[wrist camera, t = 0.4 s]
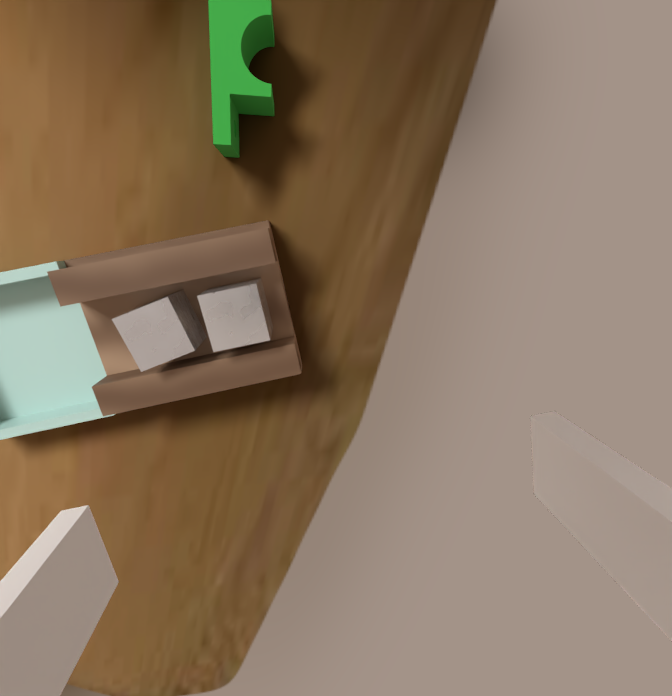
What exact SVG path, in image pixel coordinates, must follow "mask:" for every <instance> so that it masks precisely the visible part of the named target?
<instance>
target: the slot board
mask: <svg viewBox="0 0 672 696" xmlns="http://www.w3.org/2000/svg"><path fill="white" fill-rule="evenodd" d="M64 262H65V265H66V267H67V268H64V269H58V270H53V271H48V272H47V273H48V276H49V278H50V281H51V284H52V286H53V289H54V291H55V294H56V296H57V299H58V302H59V304H60V307H61V306H66V305H71V304H76V303H80V305H81V308H82V310H83V313H84V316H85V318H86V321H87V324H88V326H89V329H90V332H91V334H92V337H93V340H94V342H95V345H96V348H97V350H98V353H99V356H100V358H101V361H102V364H103V366H104V369H105V372H106V374H107V376H106V377H104V378H103V379H102V380H100V381H99V382H98V383H96V384H95V385H93V386H92V389H93V392H94V394H95V397H96V400H97V402H98V405H99V407H100V410H101V412H102V415H103V416H108V415H112V414H117V413H122V412H126V411H131V410H135V409H140V408H145V407H149V406H154V405H159V404H163V403H168V402H173V401H177V400H182V399H187V398H191V397H196V396H201V395H205V394H210V393H215V392H219V391H224V390H228V389H233V388H238V387H242V386H247V385H252V384H256V383H261V382H266V381H270V380H275V379H280V378H284V377H289V376H294V375H298V374H301V371H302V361H301V357H300V353H299V348H298V344H297V339H296V335H295V331H294V326H293V322H292V317H291V313H290V309H289V304H288V300H287V296H286V291H285V287H284V282H283V278H282V274H281V269H280V265H279V260H278V256H277V252H276V247H275V243H274V238H273V234H272V230H271V225H270V221H268V220H267V221H262V222H257V223H252V224H247V225H242V226H237V227H232V228H227V229H222V230H217V231H212V232H207V233H202V234H197V235H192V236H186V237H181V238H176V239H171V240H166V241H161V242H156V243H151V244H146V245H141V246H136V247H131V248H126V249H121V250H116V251H111V252H106V253H101V254H96V255H90V256H85V257H80V258H75V259H70V260H65V261H64ZM258 278H261V280H262V284H263V288H264V292H265V296H266V301H267V305H268V309H269V313H270V317H271V321H272V325H273V331H272V335H271V339H270V340H269V341H264V342H260V343H255V344H250V345H245V346H241V347H236V348H231V349H226V350H222V351H217V352H213V349H212V346H211V342H210V339H209V335H208V332H207V328H206V325H205V321H204V318H203V315H202V311H201V308H200V304H199V301H198V297H197V296H198V295H199V294H201V293H203V292H204V291H206V290H208V289H209V288H214V287H219V286H224V285H229V284H234V283H239V282H244V281H249V280H254V279H258ZM183 289H184V291H185V293H186V295H187V298H188V300H189V302H190V304H191V306H192V308H193V310H194V312H195V314H196V316H197V318H198V320H199V322H200V324H201V326H202V328H203V330H204V332H205V334H206V336H207V338H206V339H205V340H204V341H203V342H202V343H201V344H200V346H199V347H198V348H197V349H196V350H195V351H193V352H190V353H188V354H185V355H183V356H180V357H178V358H175V359H173V360H170V361H168V362H165V363H163V364H160V365H158V366H155V367H153V368H150V369H148V370H145V371H143V372H141V371H140V369H139V367H138V365H137V364H136V362H135V360H134V358H133V356H132V355H131V353H130V351H129V349H128V348H127V346H126V344H125V342H124V340H123V339H122V337H121V335H120V333H119V331H118V330H117V328H116V326H115V324H114V323H113V321H112V319H113V318H115V317H118V316H120V315H122V314H124V313H127V312H129V311H131V310H133V309H136V308H138V307H141V306H143V305H146V304H148V303H151V302H153V301H156V300H158V299H161V298H163V297H166V296H168V295H171V294H173V293H176V292H178V291H181V290H183Z"/></svg>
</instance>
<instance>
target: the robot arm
mask: <svg viewBox="0 0 672 696" xmlns="http://www.w3.org/2000/svg"><path fill="white" fill-rule="evenodd" d="M530 421H531V446H532V471H533V493H534V495H535V496H536V497H537V498H538V499H539V500H540V501H541V502H542V503H543V505H544V506H545V507H546V508H547V509H548V510H549V511H550V512H551V513H552V514H553V515H554V516H555V517H556V518H557V520H558V521H559V522H560V523H561V524H562V525H563V526H564V527H565V528H566V529H567V530H568V531H569V532H570V533H571V534H572V536H574V538H575V539H576V540H577V541H578V542H579V543H580V544H581V545H582V546H583V547H584V548H585V549H586V551H588V553H589V554H590V555H591V556H592V557H593V558H594V559H595V560H596V561H597V562H598V563H599V564H600V565H601V567H602V568H603V569H604V570H605V571H606V572H607V573H608V574H609V575H610V576H611V577H612V578H613V579H614V580H615V582H617V584H618V585H619V586H620V587H621V588H622V589H623V590H624V591H625V592H626V593H627V594H628V595H629V596H630V598H631V599H632V600H633V601H634V602H635V603H636V604H637V605H638V606H639V607H640V608H641V609H642V610H643V611H644V612H645V614H647V616H648V617H649V618H650V619H651V620H652V621H653V622H654V623H655V624H656V625H657V626H658V627H659V629H660V630H661V631H662V632H663V633H664V634H665V635H666V636H667V637H668V638H669V639H670V640H671V641H672V488H671V487H669V486H668V485H666V484H665V483H663V482H662V481H660V480H659V479H657V478H656V477H654V476H652V475H651V474H649V473H648V472H646V471H645V470H643V469H642V468H640V467H639V466H637V465H636V464H634V463H633V462H631V461H630V460H628V459H627V458H625V457H624V456H622V455H621V454H619V453H618V452H616V451H615V450H613V449H612V448H610V447H608V446H607V445H606V444H604V443H603V442H601V441H600V440H598V439H597V438H595V437H594V436H592V435H590V434H589V433H587V432H586V431H584V430H583V429H581V428H580V427H578V426H577V425H575V424H574V423H572V422H571V421H569V420H568V419H566V418H565V417H563V416H562V415H560V414H559V413H557V412H556V411H552V412H546V413H541V414H536V415H531V416H530ZM118 582H119V581H118V579H117V576H116V574H115V571H114V569H113V566H112V564H111V561H110V559H109V556H108V553H107V551H106V548H105V546H104V543H103V541H102V538H101V536H100V533H99V531H98V528H97V526H96V523H95V520H94V518H93V515H92V513H91V510H90V508H89V505H87V506H82V507H77V508H72V509H67V510H63V511H61V512H60V513H59V514H58V515H57V516H56V517H55V519H54V520H53V521H52V522H51V523H50V524H49V526H48V527H47V528H46V529H45V530H44V531H43V532H42V534H41V535H40V536H39V537H38V538H37V539H36V541H35V542H34V543H33V544H32V545H31V546H30V548H29V549H28V550H27V551H26V552H25V553H24V555H23V556H22V557H21V558H20V559H19V560H18V561H17V563H16V564H15V565H14V566H13V567H12V568H11V570H10V571H9V572H8V573H7V574H6V575H5V577H4V578H3V579H2V580H1V581H0V696H60V695H61V693H62V691H63V689H64V687H65V685H66V683H67V681H68V679H69V677H70V675H71V673H72V672H73V670H74V668H75V666H76V664H77V662H78V660H79V658H80V656H81V654H82V652H83V650H84V648H85V646H86V644H87V642H88V641H89V639H90V637H91V635H92V633H93V631H94V629H95V627H96V625H97V623H98V621H99V619H100V617H101V615H102V613H103V611H104V609H105V608H106V606H107V604H108V602H109V600H110V598H111V596H112V594H113V592H114V590H115V588H116V586H117V584H118Z"/></svg>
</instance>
